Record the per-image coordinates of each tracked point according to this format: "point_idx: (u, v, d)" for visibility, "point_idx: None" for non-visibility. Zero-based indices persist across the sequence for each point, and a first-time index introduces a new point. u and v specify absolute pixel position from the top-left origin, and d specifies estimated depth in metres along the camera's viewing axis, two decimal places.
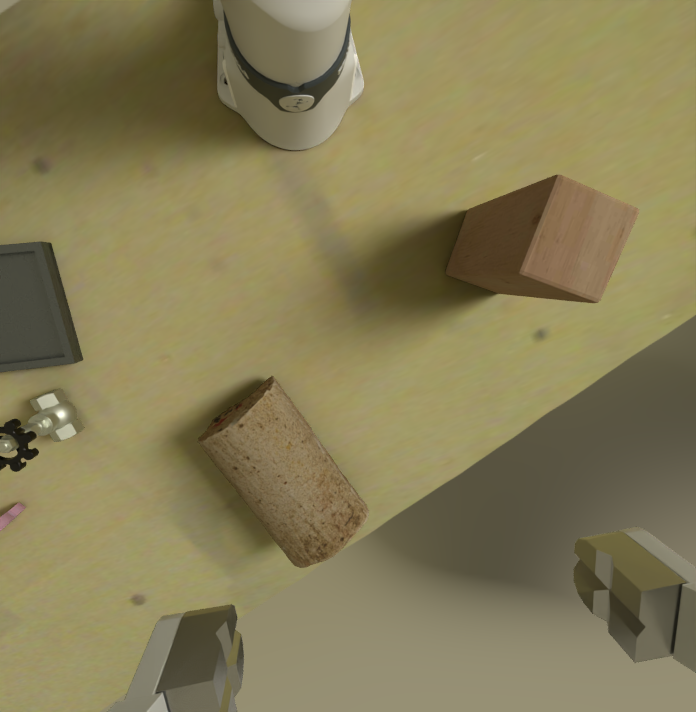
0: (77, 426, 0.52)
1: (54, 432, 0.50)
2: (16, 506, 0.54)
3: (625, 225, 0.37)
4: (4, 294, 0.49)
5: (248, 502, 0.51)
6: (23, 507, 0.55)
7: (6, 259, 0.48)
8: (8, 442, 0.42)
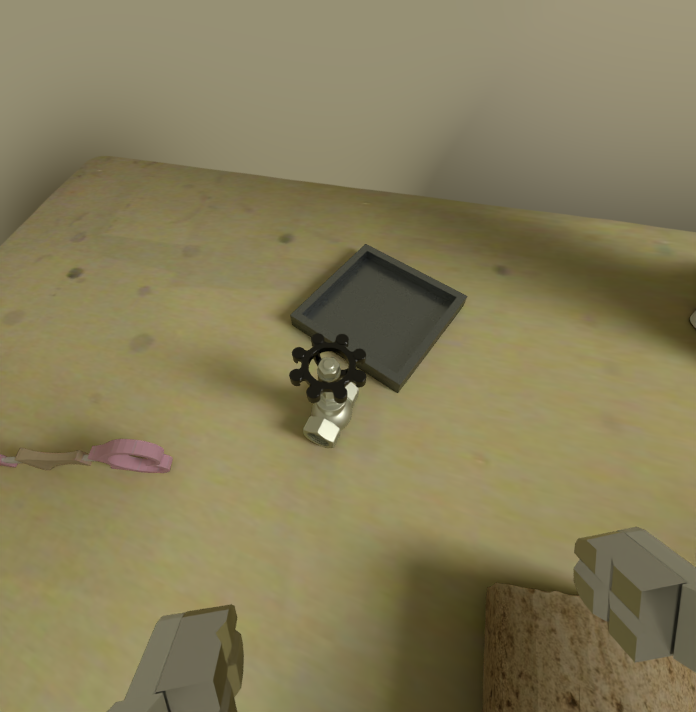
0: (336, 438, 0.37)
1: (320, 419, 0.36)
2: (170, 459, 0.36)
3: None
4: (394, 306, 0.48)
5: None
6: (169, 468, 0.36)
7: (421, 291, 0.49)
8: (337, 366, 0.30)
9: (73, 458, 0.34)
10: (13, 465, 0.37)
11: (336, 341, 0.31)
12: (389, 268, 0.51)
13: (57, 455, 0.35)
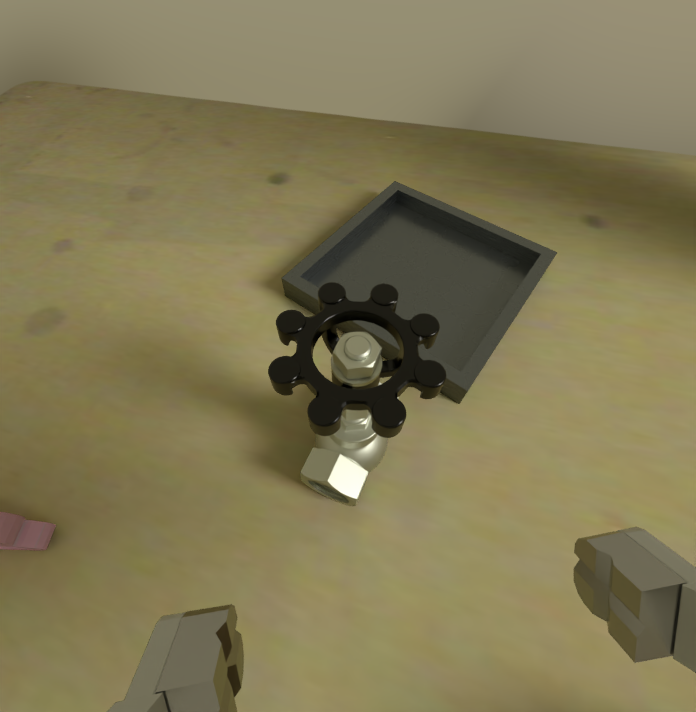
0: (361, 489, 0.20)
1: (332, 455, 0.19)
2: (45, 527, 0.19)
3: None
4: (442, 268, 0.31)
5: None
6: (45, 544, 0.19)
7: (482, 248, 0.32)
8: (376, 351, 0.13)
9: None
10: None
11: (372, 298, 0.14)
12: (431, 216, 0.34)
13: None
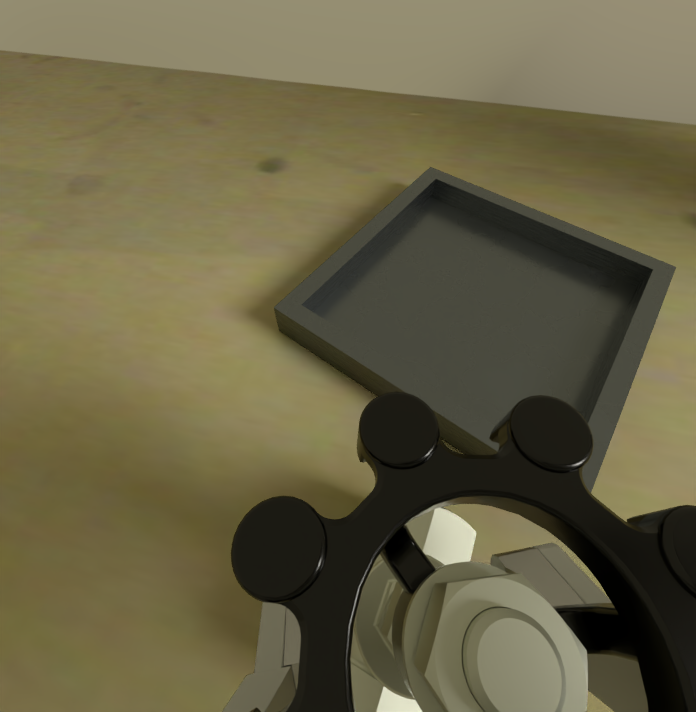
0: None
1: (367, 684, 0.10)
2: None
3: None
4: (506, 290, 0.22)
5: None
6: None
7: (558, 259, 0.23)
8: (575, 670, 0.04)
9: None
10: None
11: (521, 449, 0.05)
12: (482, 214, 0.25)
13: None
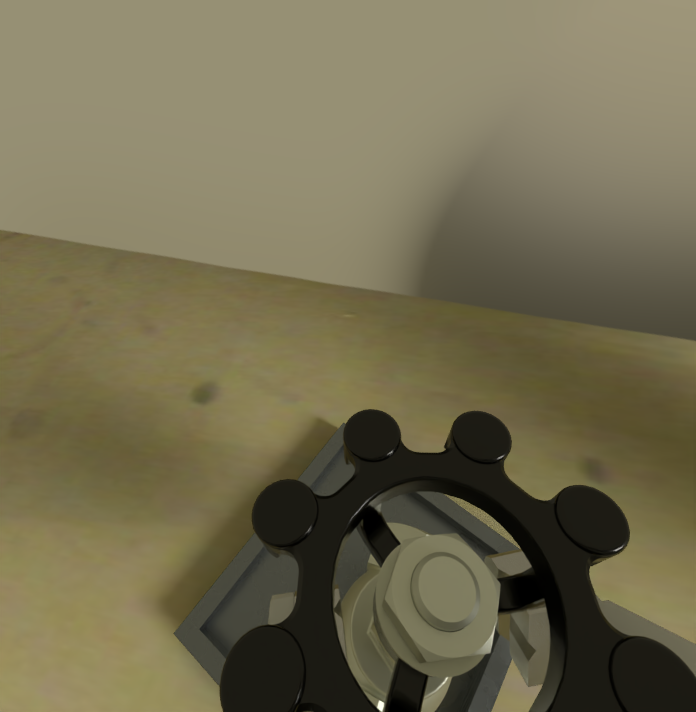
0: None
1: None
2: None
3: None
4: None
5: None
6: None
7: None
8: (490, 595, 0.06)
9: None
10: None
11: (459, 448, 0.07)
12: None
13: None
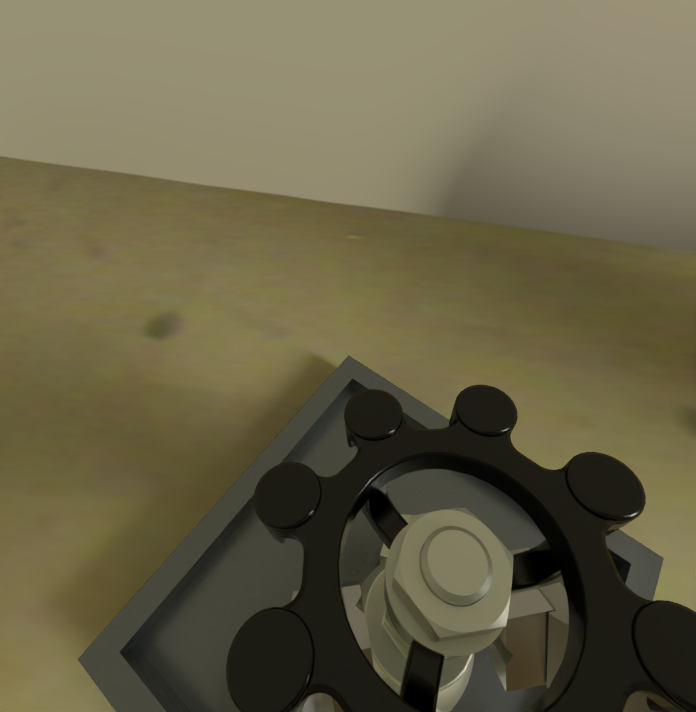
0: None
1: None
2: None
3: None
4: None
5: None
6: None
7: (507, 510, 0.17)
8: (503, 567, 0.05)
9: None
10: None
11: (463, 422, 0.07)
12: None
13: None
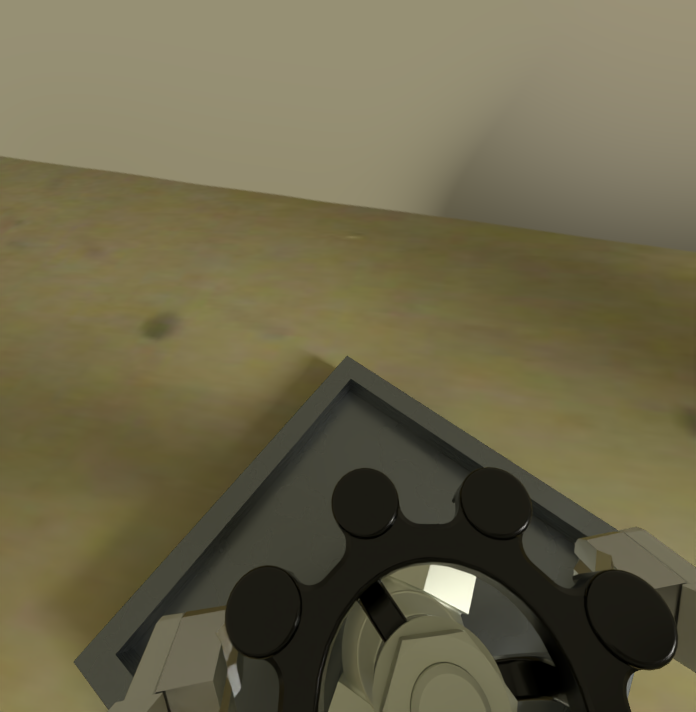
0: None
1: None
2: None
3: None
4: None
5: None
6: None
7: None
8: None
9: None
10: None
11: (468, 519, 0.06)
12: (410, 428, 0.19)
13: None
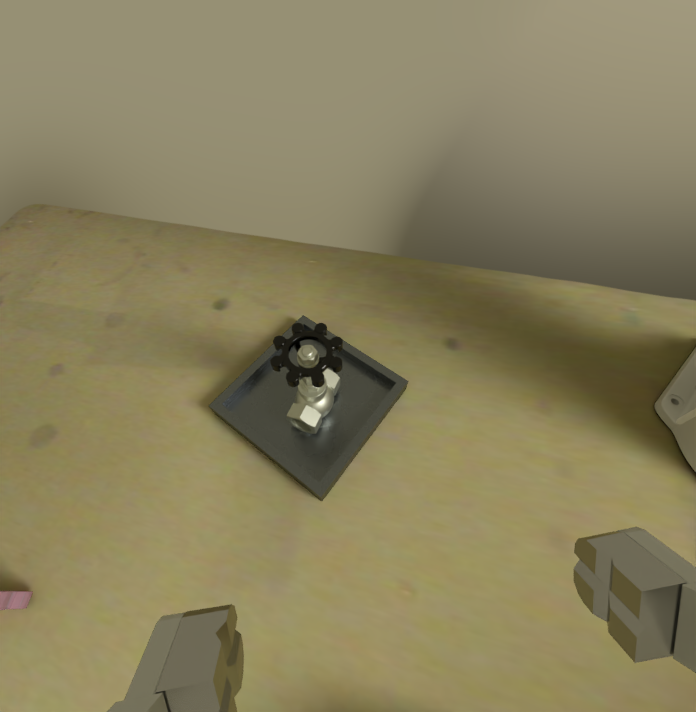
0: (318, 423, 0.39)
1: (302, 406, 0.38)
2: (25, 595, 0.31)
3: None
4: None
5: None
6: (25, 605, 0.32)
7: (361, 371, 0.45)
8: (315, 353, 0.32)
9: None
10: None
11: (315, 330, 0.33)
12: None
13: None
